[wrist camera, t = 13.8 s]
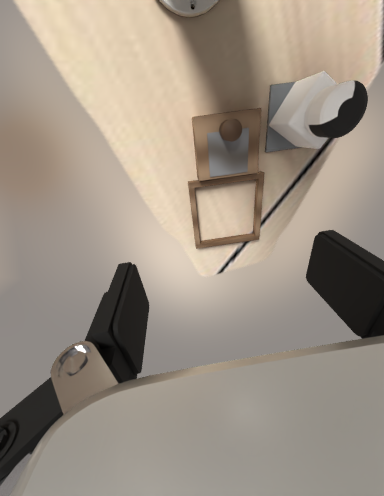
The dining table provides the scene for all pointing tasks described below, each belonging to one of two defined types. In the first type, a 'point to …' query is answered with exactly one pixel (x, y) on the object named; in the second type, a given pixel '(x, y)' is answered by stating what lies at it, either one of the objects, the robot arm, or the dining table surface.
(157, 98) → the dining table surface
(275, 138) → the slate mat
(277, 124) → the medicine bottle
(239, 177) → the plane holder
